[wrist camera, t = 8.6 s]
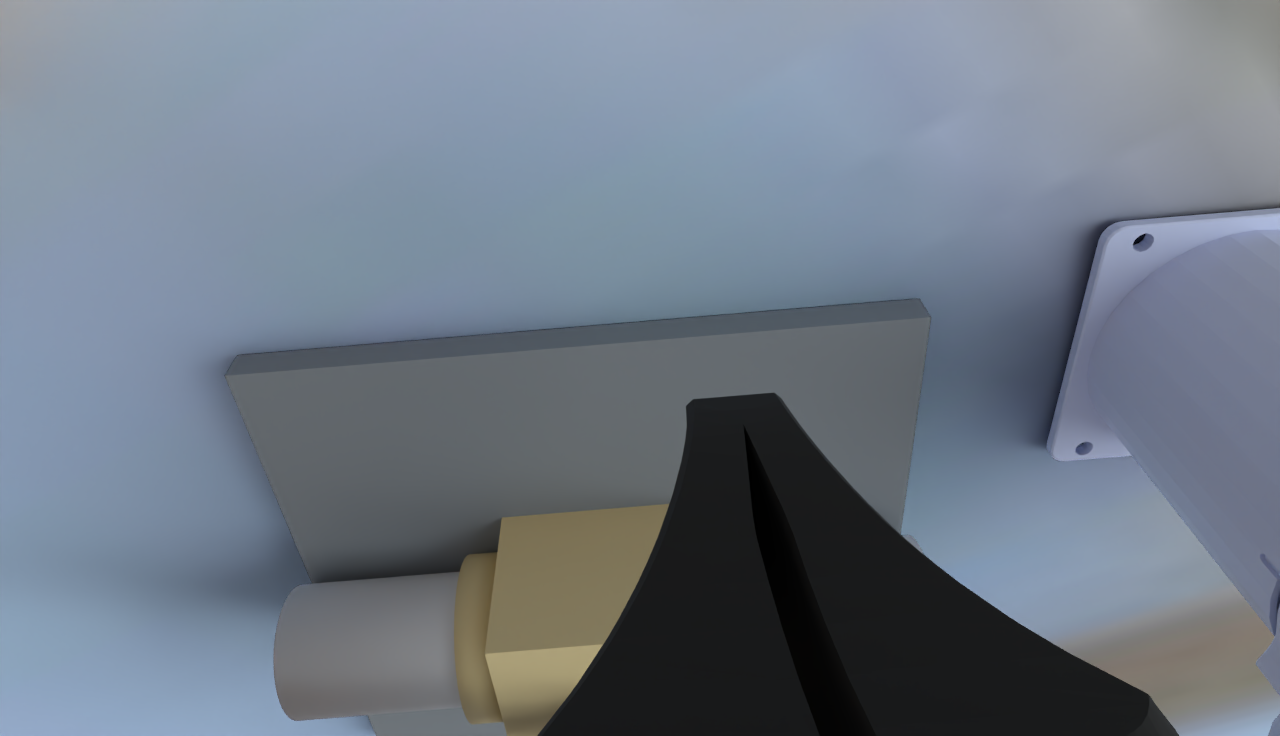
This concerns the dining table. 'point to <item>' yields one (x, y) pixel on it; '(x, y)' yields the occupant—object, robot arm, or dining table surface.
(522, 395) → the valve base
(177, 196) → the dining table surface
